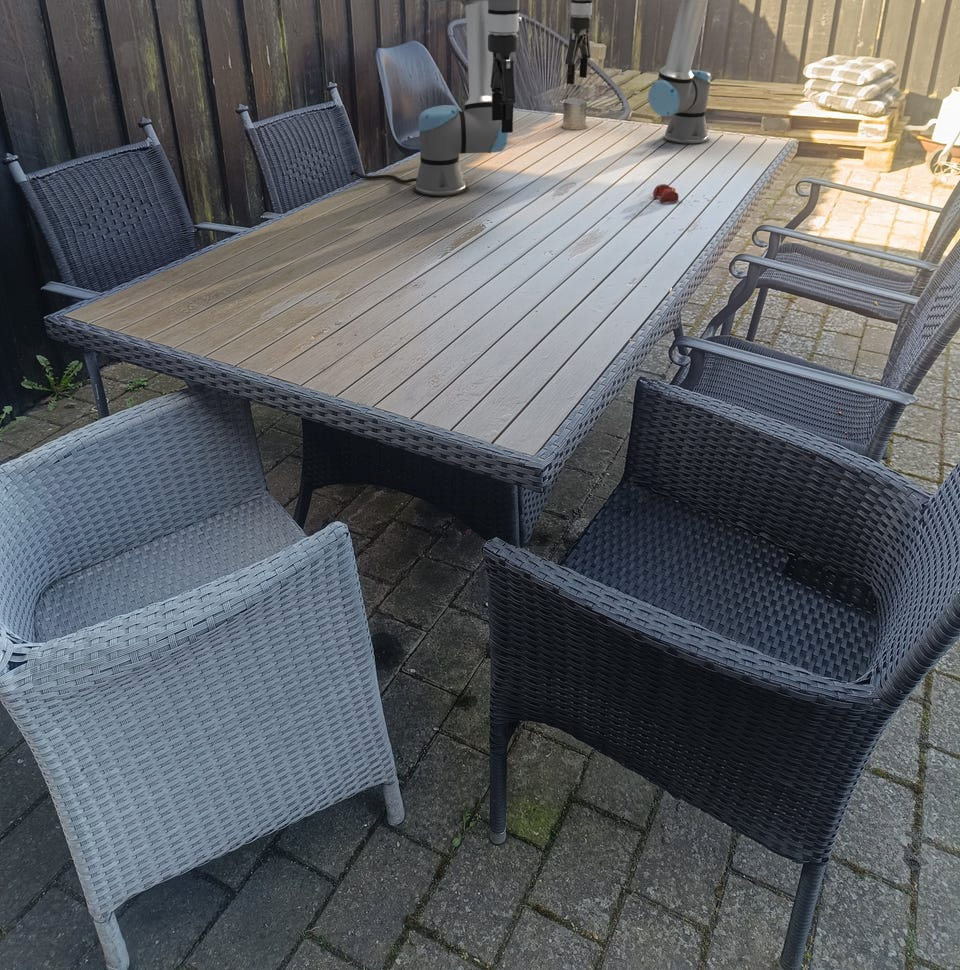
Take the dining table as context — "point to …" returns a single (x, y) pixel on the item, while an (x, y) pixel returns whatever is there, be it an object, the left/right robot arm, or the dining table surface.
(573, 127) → the tin
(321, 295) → the dining table surface
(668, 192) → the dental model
